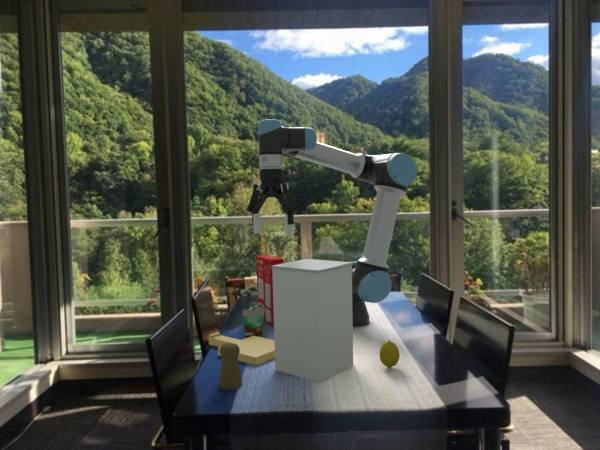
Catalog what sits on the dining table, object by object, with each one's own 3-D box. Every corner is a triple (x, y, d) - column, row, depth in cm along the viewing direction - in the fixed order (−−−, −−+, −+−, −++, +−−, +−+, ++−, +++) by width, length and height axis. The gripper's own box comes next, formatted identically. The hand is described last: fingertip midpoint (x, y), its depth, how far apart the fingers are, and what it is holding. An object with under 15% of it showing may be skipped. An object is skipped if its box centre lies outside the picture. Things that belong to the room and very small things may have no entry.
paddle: (195, 349, 171) (194, 339, 171) (230, 337, 183) (230, 328, 183) (256, 365, 154) (255, 354, 154) (290, 351, 167) (290, 341, 167)
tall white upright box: (274, 370, 150) (271, 265, 147) (309, 355, 162) (307, 258, 160) (320, 382, 139) (318, 270, 137) (354, 365, 152) (352, 262, 150)
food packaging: (285, 324, 200) (283, 258, 198) (272, 326, 197) (270, 260, 196) (270, 316, 213) (268, 254, 211) (257, 317, 211) (256, 255, 209)
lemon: (400, 366, 151) (400, 338, 150) (397, 372, 146) (397, 344, 145) (381, 364, 153) (381, 337, 152) (377, 370, 147) (377, 342, 147)
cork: (220, 381, 142) (218, 341, 141) (242, 380, 143) (241, 340, 142) (218, 390, 136) (217, 348, 135) (242, 388, 137) (240, 347, 136)
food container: (260, 339, 181) (259, 310, 180) (243, 338, 182) (242, 310, 181) (269, 329, 193) (268, 302, 192) (253, 329, 194) (252, 302, 193)
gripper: (235, 169, 175) (237, 233, 176) (293, 166, 159) (295, 236, 161) (251, 170, 181) (252, 231, 182) (308, 167, 165) (310, 234, 167)
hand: (272, 234), depth 171 cm, fingers open, 13 cm apart
